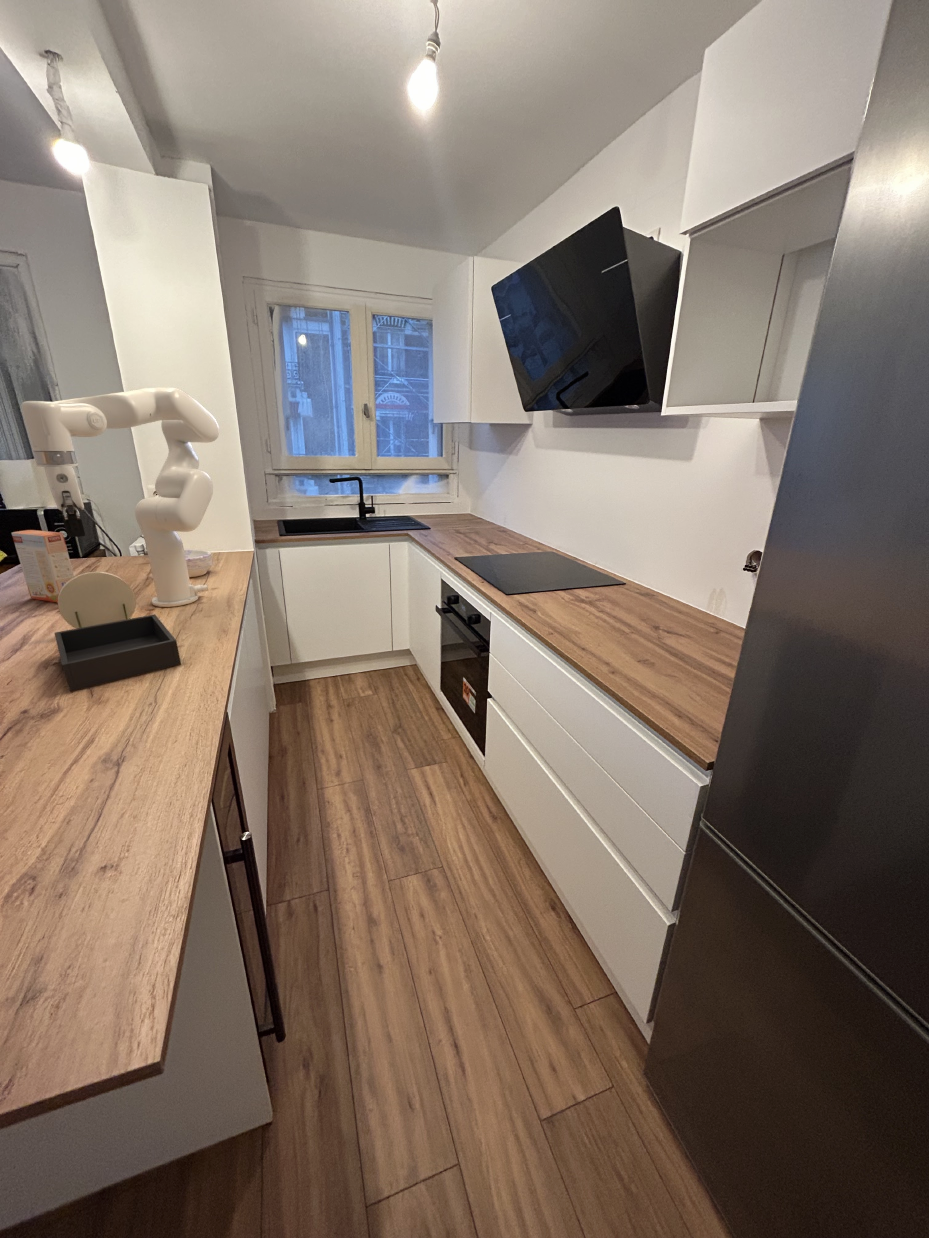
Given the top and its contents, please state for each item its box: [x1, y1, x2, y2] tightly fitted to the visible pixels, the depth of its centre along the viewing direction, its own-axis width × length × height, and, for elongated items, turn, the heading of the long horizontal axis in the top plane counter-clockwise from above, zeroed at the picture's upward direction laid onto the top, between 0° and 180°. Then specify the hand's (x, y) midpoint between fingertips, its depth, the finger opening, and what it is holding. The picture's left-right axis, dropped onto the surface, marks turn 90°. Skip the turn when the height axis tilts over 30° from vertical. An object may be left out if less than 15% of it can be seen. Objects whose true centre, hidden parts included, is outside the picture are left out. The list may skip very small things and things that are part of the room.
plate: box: [57, 571, 137, 629], centre depth 124 cm, size 16×1×16 cm, turn 131°
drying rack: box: [75, 604, 129, 628], centre depth 126 cm, size 16×8×7 cm, turn 131°
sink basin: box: [54, 613, 182, 693], centre depth 110 cm, size 20×22×6 cm
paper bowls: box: [184, 549, 214, 578], centre depth 179 cm, size 15×15×8 cm
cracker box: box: [11, 529, 75, 604], centre depth 148 cm, size 14×6×21 cm, turn 71°
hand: (75, 533), depth 118 cm, fingers open, 9 cm apart
